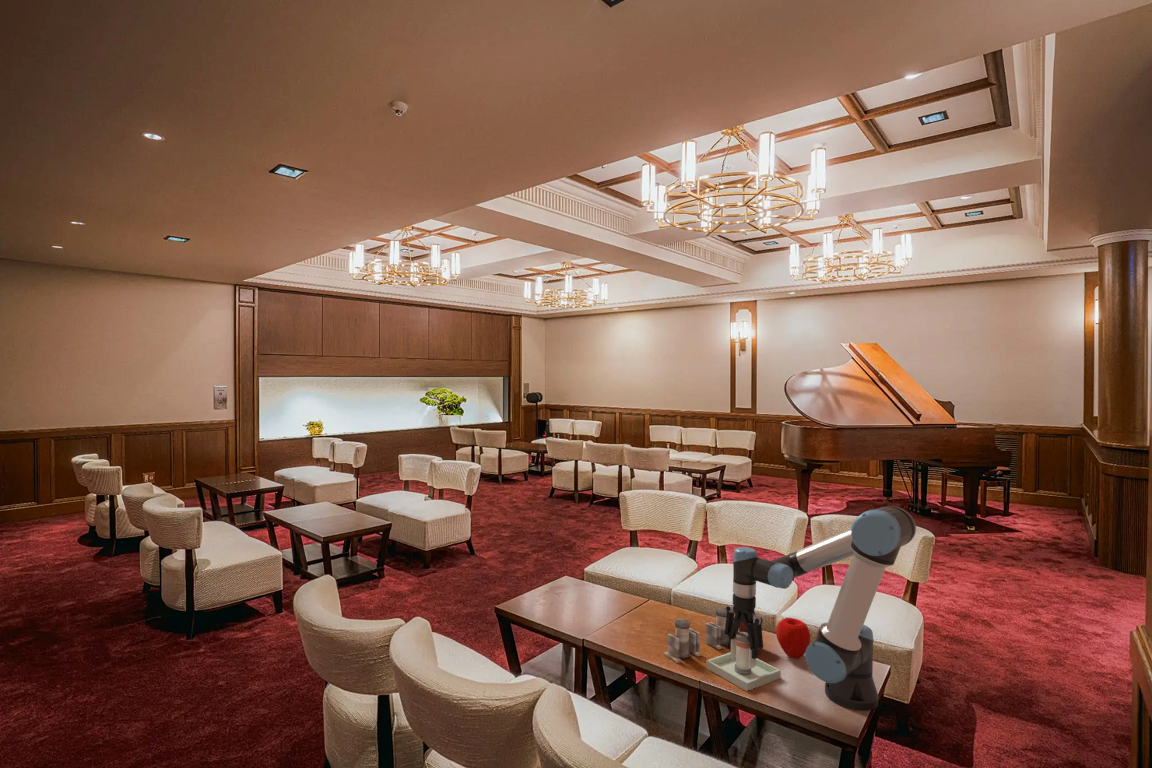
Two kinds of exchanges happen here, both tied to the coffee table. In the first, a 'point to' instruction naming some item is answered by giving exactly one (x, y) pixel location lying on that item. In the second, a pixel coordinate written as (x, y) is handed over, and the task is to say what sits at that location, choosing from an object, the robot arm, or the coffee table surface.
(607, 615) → the coffee table surface
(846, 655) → the robot arm
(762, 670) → the tray
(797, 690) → the coffee table surface
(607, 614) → the coffee table surface
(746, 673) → the cylinder
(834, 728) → the coffee table surface
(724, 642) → the clip rack
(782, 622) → the apple
